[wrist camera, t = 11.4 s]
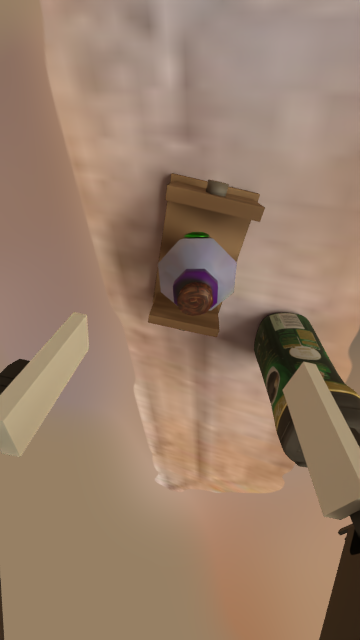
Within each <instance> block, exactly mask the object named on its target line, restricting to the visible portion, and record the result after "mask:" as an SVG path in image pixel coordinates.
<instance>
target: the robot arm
mask: <svg viewBox="0 0 360 640" xmlns="http://www.w3.org/2000/svg"><path fill="white" fill-rule="evenodd" d="M88 350H89V341H88V325H87V315H85V314H80V313H76V312H74V313H73V314H72V315H71V316H70V317H69V318H68V319H67V321H66V322H65V323H64V324H63V325H62V326H61V327H60V328H59V329H58V331H57V332H56V333H55V334H54V335H53V336H52V337H51V338H50V340H49V341H48V342H47V343H46V344H45V345H44V347H43V348H42V349H41V350H40V351H39V352H38V353H37V354H36V355H35V356H34V358H33V359H32V360H31V361H27V360H22V359H19V360H17V361H15V362H13V363H12V364H10V365H8V366H7V367H6V368H5V369H4V370H3V371H2V372H1V373H0V450H1V452H2V453H3V454H9V455H14V456H19V457H21V455H22V454H23V452H24V450H25V449H26V447H27V446H28V444H29V443H30V441H31V440H32V438H33V436H34V435H35V433H36V432H37V430H38V428H39V427H40V425H41V424H42V422H43V420H44V419H45V417H46V416H47V414H48V413H49V411H50V410H51V408H52V406H53V405H54V403H55V401H56V400H57V398H58V397H59V395H60V394H61V392H62V391H63V389H64V387H65V386H66V384H67V383H68V381H69V380H70V378H71V376H72V375H73V373H74V372H75V370H76V369H77V367H78V365H79V364H80V362H81V361H82V359H83V357H84V356H85V354H86V353H87V351H88ZM283 393H284V396H285V399H286V402H287V405H288V408H289V411H290V414H291V417H292V420H293V424H294V427H295V430H296V433H297V436H298V439H299V442H300V445H301V448H302V451H303V454H304V457H305V460H306V464H307V467H308V470H309V473H310V476H311V479H312V482H313V485H314V488H315V491H316V494H317V497H318V500H319V503H320V507H321V509H322V513H323V516H324V517H329V518H335V519H339V520H341V519H343V518H346V517H348V516H350V517H351V520H352V522H353V524H351V525H349V526H346V527H344V528H341V529H340V530H339V532H338V533H339V534H340V535H342V534H345V533H347V536H346V538H345V544H344V548H343V551H342V555H341V559H340V563H339V567H338V570H337V574H336V578H335V582H334V586H333V589H332V594H331V597H330V601H329V605H328V608H327V612H326V617H325V620H324V624H323V628H322V631H321V635H320V639H319V640H360V434H359V433H358V432H357V430H356V429H355V428H351V427H348V425H347V423H346V421H345V419H344V417H343V415H342V413H341V411H340V410H339V408H338V406H337V404H336V402H335V400H334V398H333V396H332V394H331V392H330V391H329V389H328V387H327V385H326V383H325V381H324V379H323V377H322V375H321V374H320V372H319V370H318V368H317V366H316V364H312V363H307V362H303V363H302V364H301V366H300V367H299V368H298V370H297V371H296V372H295V374H294V375H293V376H292V378H291V379H290V380H289V382H288V383H287V385H286V386H285V387H284V389H283ZM0 640H4V630H3V613H2V597H1V580H0Z"/></svg>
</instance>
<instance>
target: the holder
mask: <svg viewBox="0 0 360 640" xmlns="http://www.w3.org/2000/svg"><path fill="white" fill-rule="evenodd" d="M228 186H229V184H226V183H222V182H218V181H213V180H208V182H207V181H203V180H199V179H194V178H190V177H186V176H182V175H178V174H173V173H172V174H171V180H170V184H168V185H167V191H166V198H165V200H168V201H167V208H166V214H165V221H164V228H163V235H162V242H161V249H160V256H159V262H160V261H161V260H162V258H163V257H164V256H165V255H166V254H167V253H168V252H169V251H170V250H171V249H172V247H173V246H174V245H175V244H176V243H177V242H178V241H179V240H180V239H183V238H184V235H186V234H188V233H191V232H197V231H198V232H204V233H207V234H209V236H210V237H211V238H213V239H214V240H215V241H216V242H217V243H218V244H219V245H220V246H221V247H222V248H223V249H224V250H225V251H226V252H227V253H228V254H229V255H230V256H231V257H232V258H233V259H234V260H235V261H237V259H238V256H239V253H240V250H241V247H242V244H243V241H244V239H245V236H246V233H247V230H248V227H249V224H250V222H251V220H254V221H259V222H260V220H261V217H262V215H263V212H264V209H265V207H263V206H262V205H260V204H259V203H258V199H259V196H260V194H258V193H254V192H249V191H245V190H241V189H237V188H233V187H228ZM153 302H154V303H153V306H152V309H151V311H150V314H149V320H148V323H153V324H157V325H162V326H167V327H171V328H176V329H179V330H183V331H190V332H195V333H199V334H204V335H209V336H213V337H217V335H218V332H219V319H218V313H219V310H220V307H221V304H222V302H221V303H220V304H219V305H217V306H216V307H215V308H214V309H213V310H211V311H209V310H208V311H207V312H206V313H204V314H201V315H196V316H191V315H186V314H184V313H183V312H181V311H180V310H179V308H178V306H177V305H176V304H175V303H173V302H172V301H171V300H170V299H169V298H167V297H166V296H165V295H164V294H163V293H161V288H160V279H159V269H158V270H157V276H156V283H155V290H154V297H153Z"/></svg>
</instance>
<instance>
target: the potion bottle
mask: <svg viewBox="0 0 360 640" xmlns="http://www.w3.org/2000/svg"><path fill="white" fill-rule="evenodd" d="M236 264H237V262H236V261H235V260H234V259H233V258H232V257H231V256H230V255H229V254H228V253H227V252H226V251H225V250H224V249H223V248H222V247H221V246H220V245H219V244H218V243H217V242H216V241H215V240H214V239H213V238H211V237H210V236H209V234H207V233H204V232H198V231H197V232H191V233H188V234H186V235H184V238H183V239H180V240H179V241H178V242H177V243H176V244H175V245H174V246H173V247H172V249H171V250H170V251H169V252H168V253H167V254H166V255H165V256H164V257H163V258H162V260H161V261H160V262H159V263H158V269H159V279H160V288H161V293H163V294H164V295H165V296H166V297H167V298H169V299H170V300H171V301H172V302H173V303H175V304H176V305H177V306H178V308H179V310H180V311H181V312H183V313H184V314H186V315H191V316H196V315H201V314H204V313H206V312H207V311H208V310H209V311H211V310H213V309H214V308H215V307H216V306H217V305H219V304H220V303H221V302H222V301H224V300H225V299H226V298H227V297H229V296H230V295H231V294H232V293H234V285H235V275H236Z"/></svg>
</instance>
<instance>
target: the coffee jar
mask: <svg viewBox="0 0 360 640" xmlns="http://www.w3.org/2000/svg"><path fill="white" fill-rule="evenodd" d="M254 351H255V355H256V358H257V362H258V364H259V367H260V370H261V373H262V376H263V379H264V383H265V386H266V389H267V392H268V395H269V399H270V403H271V406H272V411H273V416H274V421H275V426H276V431H277V435H278V437H279V440H280V443H281V445H282V448H283V450H284V452H285V454H286V455H287V456H288V457H289V458H290V459H291V460H292V461H294V462H295V463H296V464H297V465H298V466H301V467H307V464H306V460H305V457H304V454H303V451H302V448H301V445H300V442H299V439H298V436H297V433H296V430H295V427H294V424H293V420H292V417H291V414H290V411H289V408H288V405H287V402H286V399H285V396H284V393H283V389H284V387H285V386H286V385H287V383H288V382H289V380H290V379H291V378H292V376H293V375H294V374H295V372H296V371H297V370H298V368H299V367H300V366H301V364H302V363H303V362H307V363H312V364H316V366H317V368H318V370H319V372H320V374H321V375H322V377H323V379H324V381H325V383H326V385H327V387H328V389H329V391H330V392H331V394H332V396H333V398H334V400H335V402H336V404H337V406H338V408H339V410H340V411H341V413H342V415H343V417H344V419H345V421H346V423H347V425H348V427H351V428H355V429H356V430H357V432H358V433H359V434H360V397H359V395H358V394H357V393H356V392H355V391H354V390H353V389H351V388H350V387H348V386H347V385H346V384H345V383H344V382H343V381H342V379H341V378H340V376H339V375H338V373H337V371H336V370H335V368H334V366H333V364H332V363H331V361H330V359H329V357H328V356H327V354H326V352H325V350H324V348H323V346H322V344H321V342H320V341H319V339H318V337H317V335H316V333H315V331H314V329H313V327H312V326H311V324H310V322H309V321H308V319H307V318H305V317H304V316H302V315H298V314H294V313H276V314H272V315H269V316H267V317H266V318H264V319H263V321H262V322H261V324H260V326H259V329H258V331H257V334H256V339H255V345H254Z"/></svg>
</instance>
